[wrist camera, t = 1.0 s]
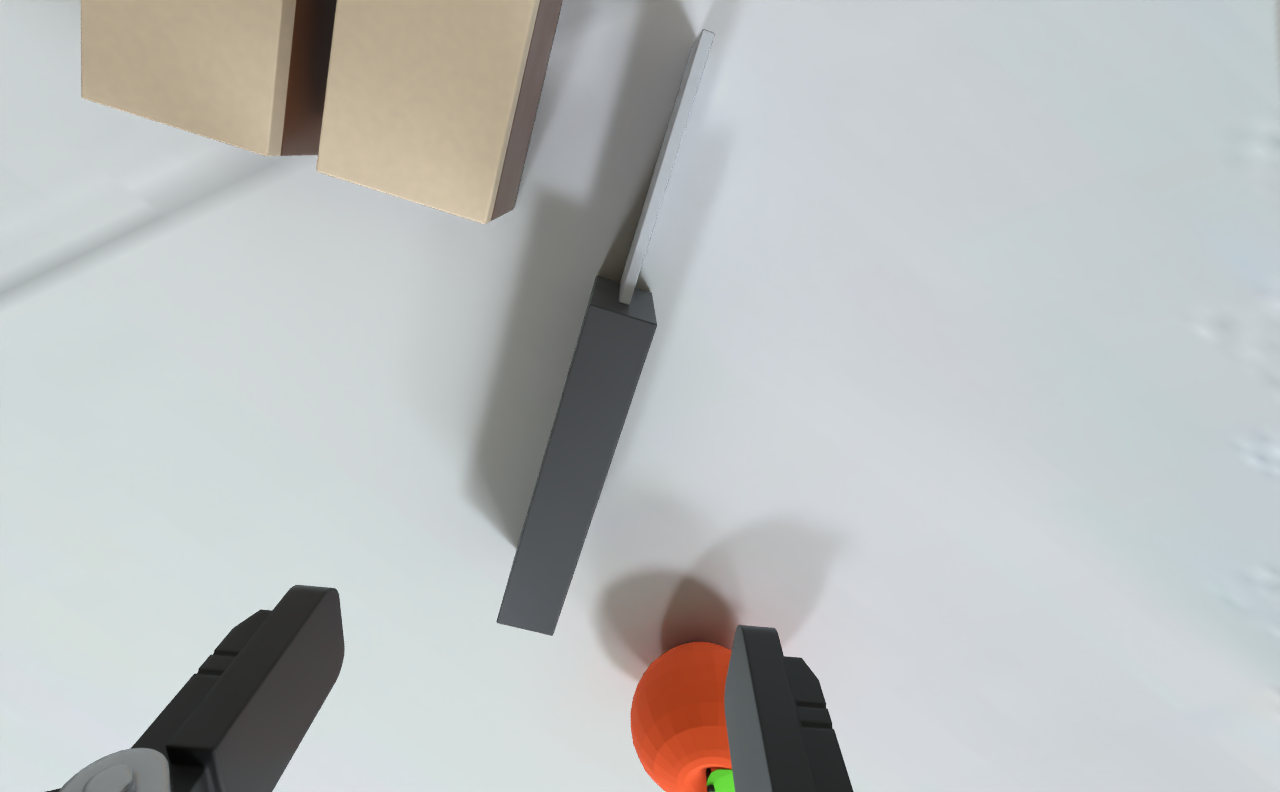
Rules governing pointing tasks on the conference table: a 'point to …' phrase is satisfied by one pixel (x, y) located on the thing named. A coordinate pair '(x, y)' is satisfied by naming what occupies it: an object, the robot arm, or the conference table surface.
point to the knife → (593, 405)
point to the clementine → (684, 719)
